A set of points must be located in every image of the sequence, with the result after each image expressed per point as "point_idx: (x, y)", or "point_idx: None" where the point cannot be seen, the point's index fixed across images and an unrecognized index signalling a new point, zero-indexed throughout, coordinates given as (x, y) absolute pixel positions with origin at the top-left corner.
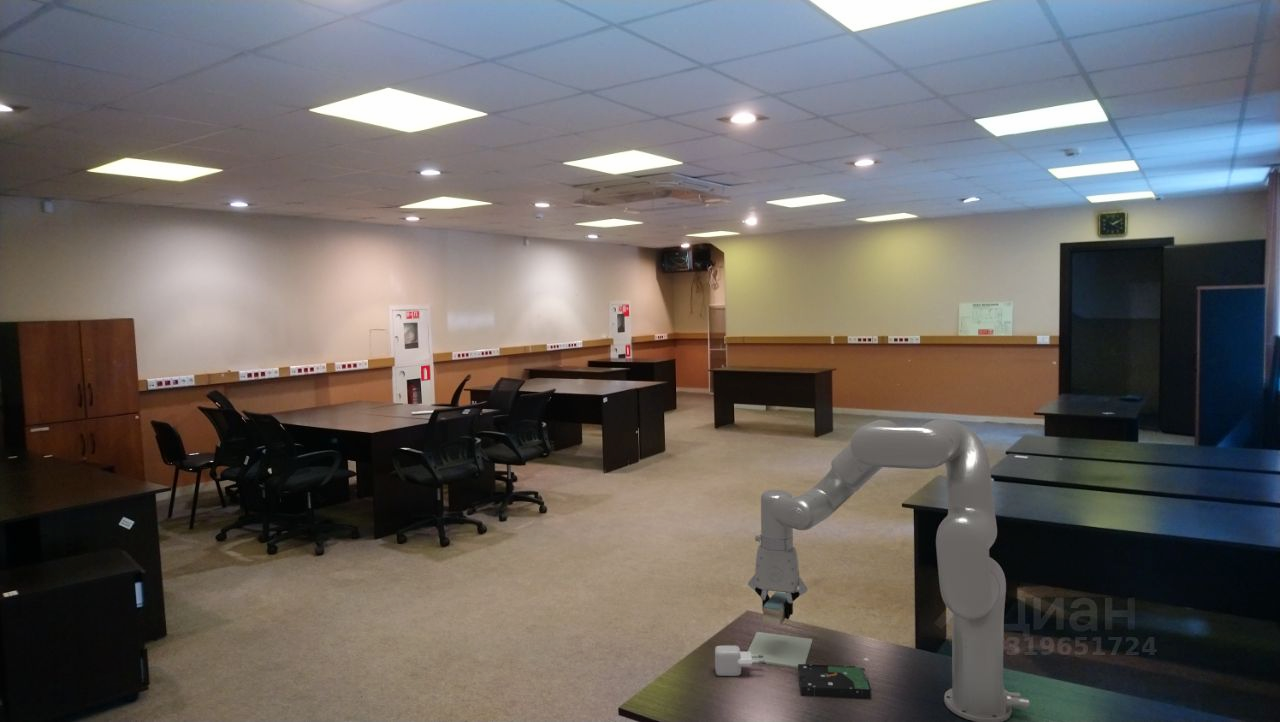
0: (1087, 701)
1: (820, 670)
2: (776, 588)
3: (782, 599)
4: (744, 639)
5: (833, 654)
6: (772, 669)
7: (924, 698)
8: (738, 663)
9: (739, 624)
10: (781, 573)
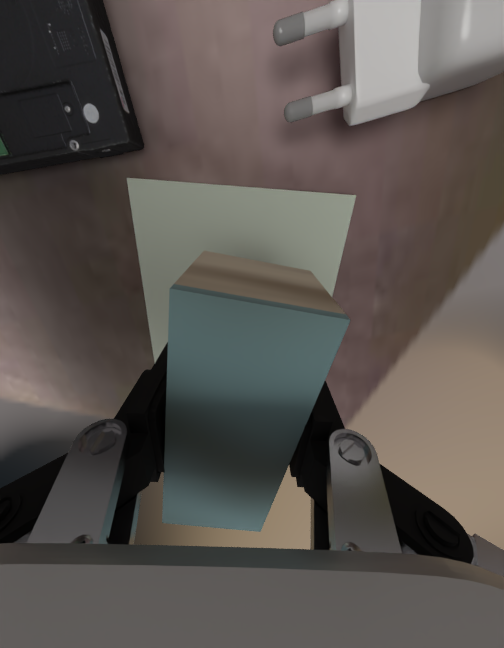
0: None
1: (24, 109)
2: (180, 629)
3: (197, 464)
4: (345, 343)
5: (79, 313)
6: (243, 149)
7: None
8: None
9: (356, 412)
10: None
